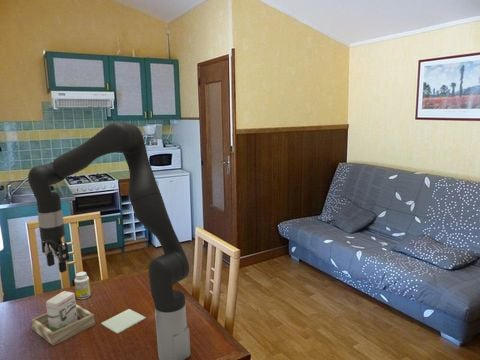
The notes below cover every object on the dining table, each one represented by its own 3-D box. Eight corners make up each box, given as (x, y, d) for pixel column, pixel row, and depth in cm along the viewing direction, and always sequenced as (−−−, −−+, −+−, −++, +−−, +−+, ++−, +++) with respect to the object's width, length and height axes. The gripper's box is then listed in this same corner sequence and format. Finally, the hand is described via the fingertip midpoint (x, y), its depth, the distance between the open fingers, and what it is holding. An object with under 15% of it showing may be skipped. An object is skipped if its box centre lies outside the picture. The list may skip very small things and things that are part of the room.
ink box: (59, 335, 130) (55, 304, 128) (49, 332, 132) (44, 301, 129) (78, 322, 138) (75, 292, 136) (68, 319, 140) (64, 290, 137)
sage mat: (145, 318, 139) (145, 317, 139) (117, 334, 130) (117, 332, 130) (129, 309, 145) (129, 308, 145) (101, 324, 136) (100, 323, 136)
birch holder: (94, 324, 136) (93, 314, 135) (53, 345, 125) (51, 334, 124) (73, 311, 145) (72, 301, 144) (32, 329, 134) (31, 319, 133)
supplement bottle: (83, 292, 160) (80, 269, 158) (93, 294, 158) (91, 271, 156) (73, 298, 155) (70, 275, 153) (84, 301, 153) (81, 277, 151)
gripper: (73, 224, 126) (78, 270, 129) (52, 217, 134) (57, 259, 138) (50, 230, 120) (56, 278, 123) (30, 222, 129) (36, 266, 132)
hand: (57, 268), depth 131 cm, fingers open, 8 cm apart
